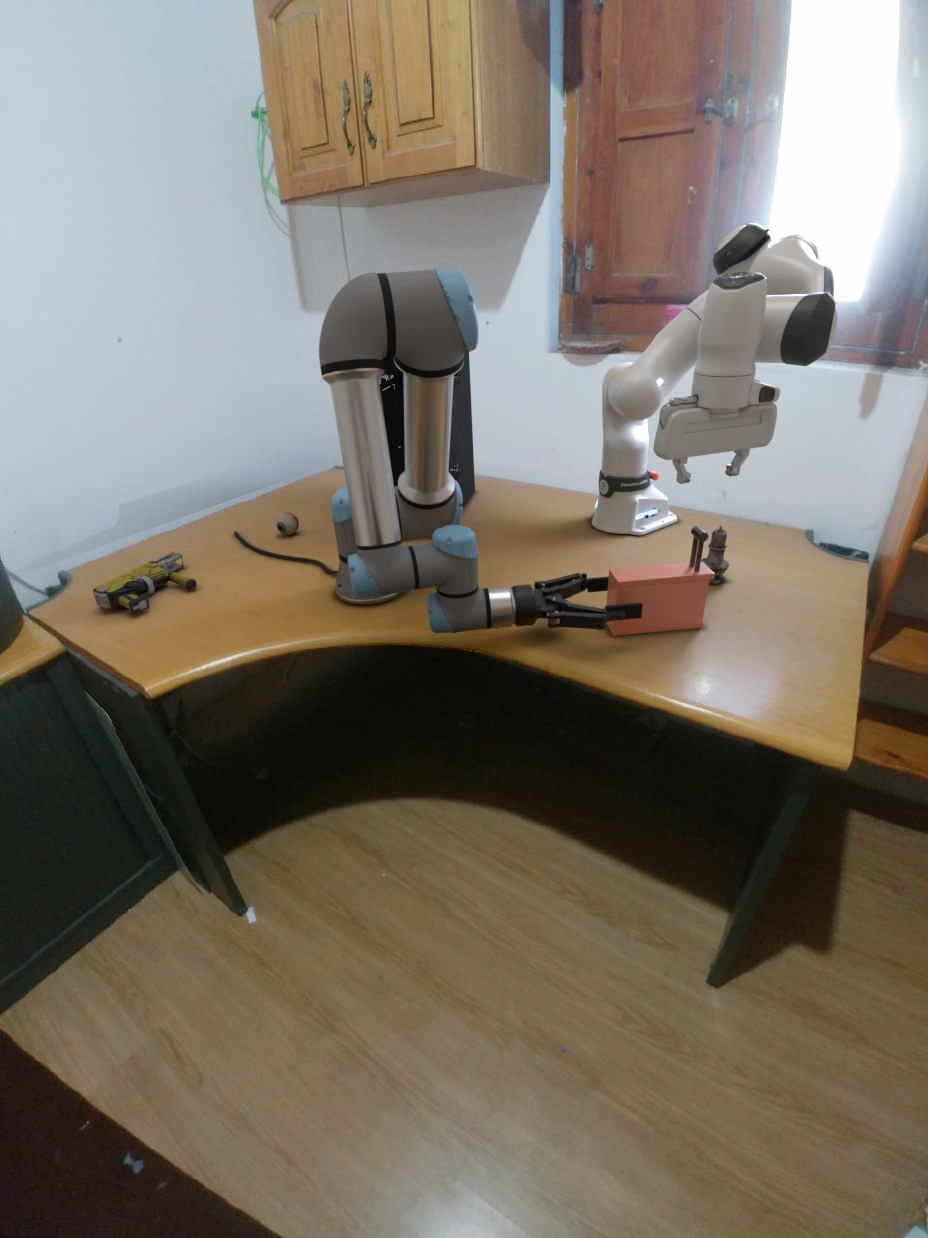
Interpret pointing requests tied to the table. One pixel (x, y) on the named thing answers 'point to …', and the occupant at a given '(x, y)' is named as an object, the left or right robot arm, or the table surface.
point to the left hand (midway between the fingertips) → (630, 595)
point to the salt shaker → (717, 555)
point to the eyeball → (287, 523)
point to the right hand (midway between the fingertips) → (707, 478)
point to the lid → (667, 568)
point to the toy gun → (141, 584)
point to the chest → (660, 606)
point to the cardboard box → (459, 425)
